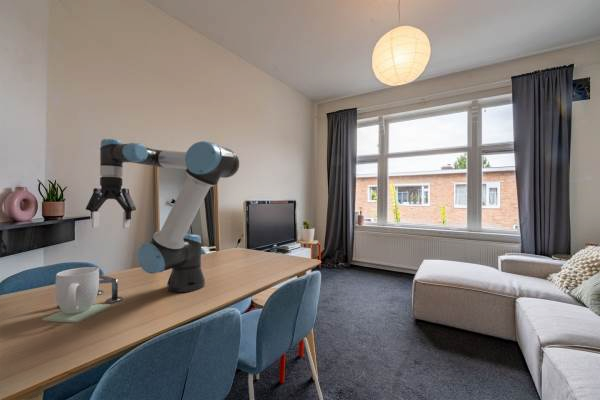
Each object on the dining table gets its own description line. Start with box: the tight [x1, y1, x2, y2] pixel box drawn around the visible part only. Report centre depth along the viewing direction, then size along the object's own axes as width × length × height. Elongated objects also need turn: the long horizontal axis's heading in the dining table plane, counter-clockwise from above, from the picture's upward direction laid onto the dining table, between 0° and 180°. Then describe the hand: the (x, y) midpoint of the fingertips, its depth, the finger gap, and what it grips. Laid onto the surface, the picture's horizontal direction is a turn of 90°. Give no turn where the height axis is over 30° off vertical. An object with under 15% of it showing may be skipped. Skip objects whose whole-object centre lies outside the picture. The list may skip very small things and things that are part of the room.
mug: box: [55, 266, 100, 314], centre depth 83 cm, size 15×11×13 cm
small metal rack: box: [57, 273, 124, 309], centre depth 94 cm, size 18×16×9 cm
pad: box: [42, 303, 112, 324], centre depth 83 cm, size 12×12×1 cm
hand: (110, 227), depth 105 cm, fingers open, 13 cm apart
